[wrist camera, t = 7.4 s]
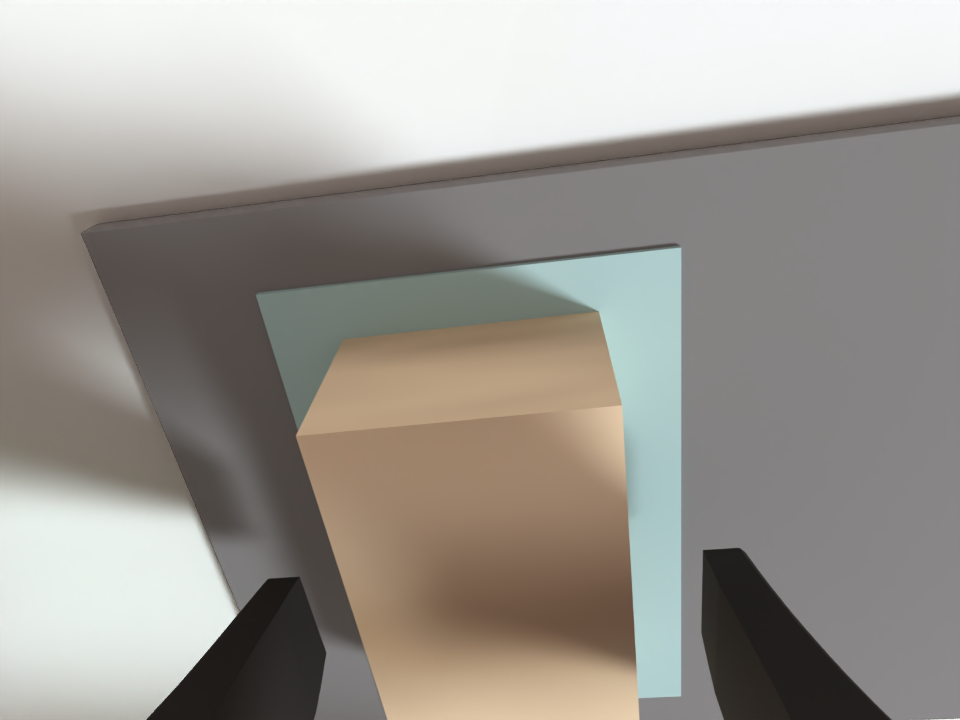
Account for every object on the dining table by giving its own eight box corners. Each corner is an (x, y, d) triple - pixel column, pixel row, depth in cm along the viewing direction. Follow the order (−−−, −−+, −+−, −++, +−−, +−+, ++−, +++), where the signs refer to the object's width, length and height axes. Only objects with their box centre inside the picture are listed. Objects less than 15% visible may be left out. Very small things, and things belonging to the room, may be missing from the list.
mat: (301, 726, 19) (295, 747, 18) (97, 224, 12) (77, 235, 12) (1294, 684, 16) (1320, 708, 16) (1712, 20, 10) (1782, 22, 9)
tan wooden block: (622, 664, 16) (643, 798, 13) (431, 675, 16) (415, 806, 14) (599, 311, 12) (622, 405, 9) (343, 339, 12) (295, 436, 10)
